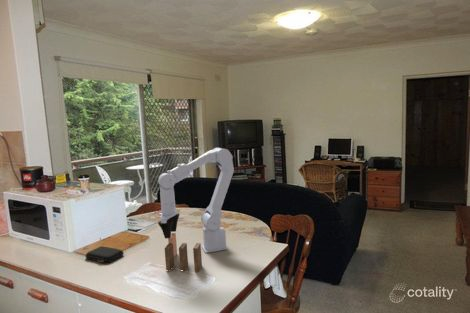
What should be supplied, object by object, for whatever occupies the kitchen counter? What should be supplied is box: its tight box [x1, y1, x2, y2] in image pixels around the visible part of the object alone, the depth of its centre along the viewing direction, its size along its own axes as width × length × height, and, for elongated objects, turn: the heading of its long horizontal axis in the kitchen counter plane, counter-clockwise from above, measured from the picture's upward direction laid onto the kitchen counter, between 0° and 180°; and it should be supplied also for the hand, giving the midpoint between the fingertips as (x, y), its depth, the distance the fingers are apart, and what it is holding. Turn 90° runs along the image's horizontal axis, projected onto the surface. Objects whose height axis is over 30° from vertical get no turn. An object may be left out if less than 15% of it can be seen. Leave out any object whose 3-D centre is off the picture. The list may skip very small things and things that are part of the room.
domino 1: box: [164, 243, 175, 271], centre depth 124 cm, size 2×5×9 cm, turn 173°
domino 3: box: [192, 242, 203, 273], centre depth 123 cm, size 2×5×9 cm, turn 173°
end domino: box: [167, 232, 178, 258], centre depth 135 cm, size 2×5×9 cm, turn 173°
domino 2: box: [178, 242, 189, 272], centre depth 124 cm, size 2×5×9 cm, turn 173°
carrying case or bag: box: [85, 246, 125, 264], centre depth 138 cm, size 11×3×15 cm
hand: (170, 234), depth 135 cm, fingers open, 7 cm apart
